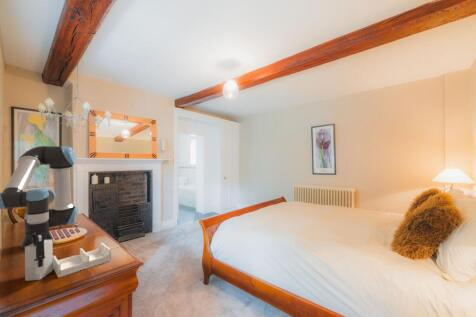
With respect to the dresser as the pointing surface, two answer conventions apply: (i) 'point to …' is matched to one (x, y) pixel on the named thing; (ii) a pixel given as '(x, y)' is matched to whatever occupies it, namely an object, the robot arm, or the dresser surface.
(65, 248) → the dresser surface
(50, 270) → the skincare box
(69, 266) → the caddy rack
